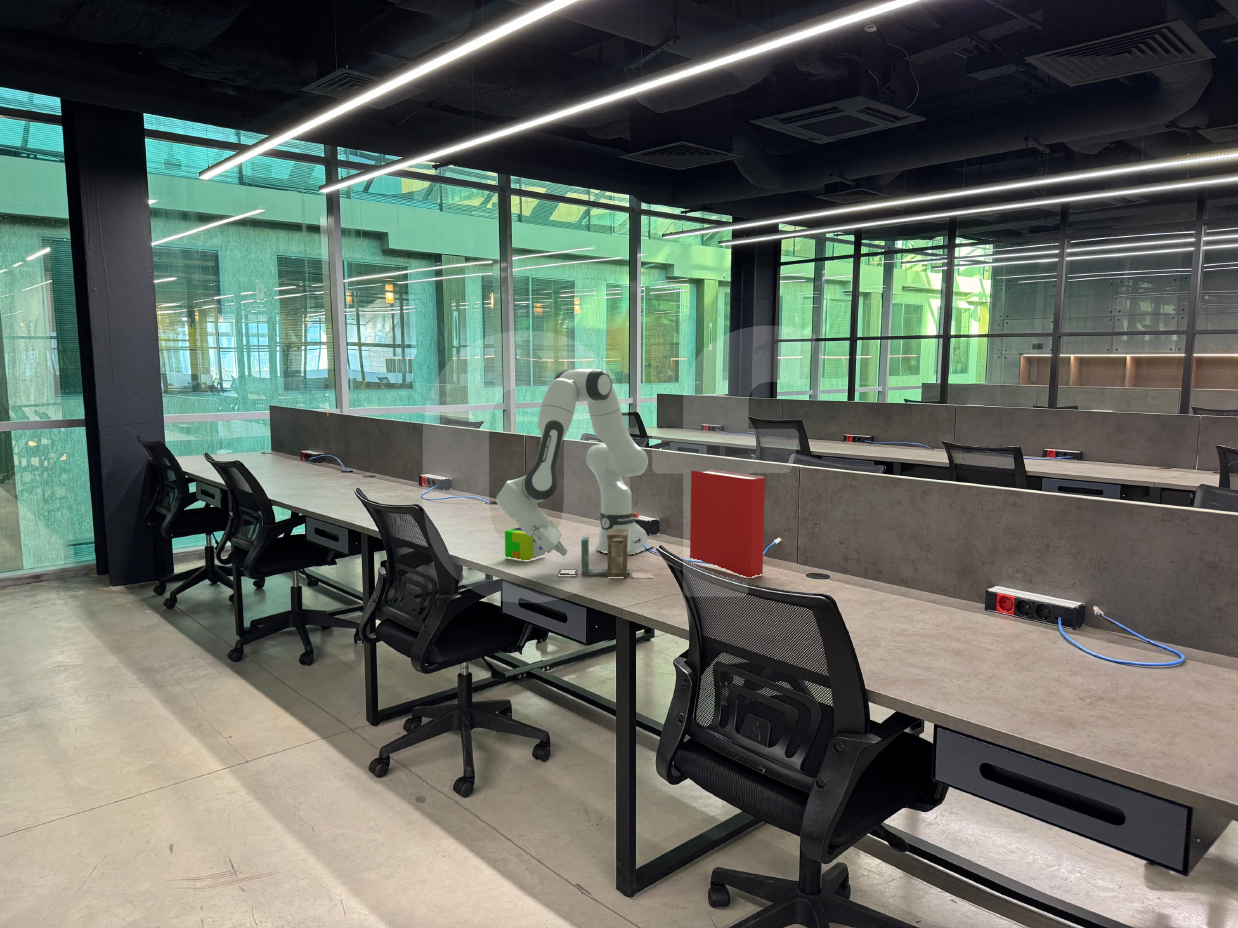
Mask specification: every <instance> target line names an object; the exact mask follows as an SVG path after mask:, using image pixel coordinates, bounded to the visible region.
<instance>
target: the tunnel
mask: <svg viewBox="0 0 1238 928" xmlns="http://www.w3.org/2000/svg"><path fill="white" fill-rule="evenodd" d="M607 538H608V554H607V569H608V575H607V578H608V577H624V578H627V577H628V575H627V569H628V554H627V538H628V529H608V533H607ZM613 539H623V575H612V540H613ZM627 579H628V578H627Z"/></svg>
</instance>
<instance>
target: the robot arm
mask: <svg viewBox="0 0 1238 928" xmlns="http://www.w3.org/2000/svg"><path fill="white" fill-rule="evenodd" d="M548 385H549V386H548V387H547V389H546V392H545V394H544V397H543V399H542V402H541V405H540V409H539V413H538V423H537V427H538V430H539V432H540V437H541V439H540V444H539V449H538V452H537V456H536V459H535V463H534V465H533V467H532V468H531V469H530V470H529V472H528V473H527V475H524V476H521V477H519V478H516V479H512V480H509V479H508V480H506V481H505V482H504V483H503V484H502V486H501V487H500V489H499V490H498V491H497V492H496V495H495V501H496V504H497V505H498V506H499V507H500V509H501V510H502V511H503V513H505V514H506V515H507V516H508V517H509V518H510V519H512V520H513V521H514V522H515V523H516V524H517V526H518V527H520V528H521V529H522V530H523V531H524V532H525V533H526V534H527V535H528V536H529V537H530V536H531V535H533V538H534V540H535V541H536V542H537V543H538V544H539V545H540V546H541V547H542V549H543V550H544V551H545V553H546V554H550V553H551V552H552V551H555V552H557V553H559V555H561V556H562V557H565V556H566V555H567V553H568V551H569V550H568V549H567V548H566V547H565V546H564V544H563V543H562V542H561V541H560V539H561V537H562V536H563V534H562V532H561V530H560V529H559V528H558V527H557V525H556V524H555V523H554V522H553V521H552V520H551V519H550V518H549V517H550V515H549V514H548V513H547V512H545V511H543V510H542V508H540V507H539V506H538V504H539V502H543V501H544V500H547V499H550V497H552V496H553V495H554V493H555V492H556V491H557V487H558V481H557V480H558V479H557V474H556V468H557V467H556V465H557V462H558V457H559V453H560V449H561V445H562V442H563V440H564V439H565V436H566V435H567V434H568V431H569V430H570V427H571V424H572V421H573V418H574V415H575V409H576V406H577V405H576V403H577V402H586V403H587V407H588V408H587V409H588V414H589V416H590V421H591V425H592V428H593V429H592V430H593V433H594V434H595V436H596V437H597V438H598V439H599V440H601V441H602V442H603V443H602V444H601V443H600V444H594V445H593V446H591V447H590V448H589V449H588V450H587V453H586V456H585V457H586V459H585V460H586V465H587V466H588V469H590V470H591V472H592V473H593V474H594V476H595V478H596V481H597V483H598V486H599V490H600V507H601V508H600V510H601V512H599V523H600V525H599V530H598V531H599V533H598V539H597V540H598V541H597V543H596V550H597V549H598V550H599V551H604V552H605V551H607V552H608V538H607V533H608V529H628V538H627V553H637V552H639V551H642V550H644V549H645V548H643V545H644V544H646V543H648V535H647V532H646V530H645V529H644V528H642V527H641V526H640V525H639V524H637V522H635V521H636V520H635V518H636V519H639V518H640V516H641V515H640V514H639V512H635V511H634V512H632V507H633V506H632V501H633V500H632V490H630V487H628V486H627V485H626V483H625V481H623V477H636V476H640V475H642V474H644V473H645V472H646V470H647V468H648V465H649V459H648V455H647V452H646V451H645V450H644V449H642V448H641V447H640V446H638V444H637V443H636V442H635V441H634V440H633V438H632V436H631V435H630V432H628V430H627V427H626V425H625V421H624V418H623V414H622V410H621V405H620V403H619V398H618V395H617V393H616V389H615V388H614V386H613V383H612V379H611V377H610V376H609V374H608V373H607V372H606V371H605V370H603V369H598V368H594V369H593V368H577V369H565V370H562V371H559V372H558V373H556V375H555V376H554V377H553V380H552V381H551V382H550V383H549V384H548ZM622 476H623V477H622ZM613 540H623V539H613ZM597 546H598V547H597Z"/></svg>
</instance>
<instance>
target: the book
mask: <svg viewBox="0 0 1238 928" xmlns="http://www.w3.org/2000/svg"><path fill="white" fill-rule="evenodd" d="M765 488H766V477H765V476H761V475H753V474H746V473H739V472H733V471H724V470H719V469H712V468H710V469H709V468H708V469H707V471H696V470H691V471H690V524H689V525H690V526H689V527H690V528H689V531H690V533H689V536H690V537H689V539H690V540H689V543H690V544H689V559H690V558H693V559H697V560H701V561H703V562H706V563H711V564H713V565H717V566H719V567H721V568H725V569H727V570H730V571H732V572H734V573H737V574H739V575H743V576H746V577H752V576H755V575H760V574H763V572H764V571H763V569H764V536H765V535H764V533H765V530H764V529H765V497H766V495H765V494H766V493H765V491H766V489H765Z"/></svg>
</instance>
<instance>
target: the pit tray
mask: <svg viewBox="0 0 1238 928" xmlns="http://www.w3.org/2000/svg"><path fill="white" fill-rule="evenodd" d="M561 570H576V571H575V574H569V573H560V572H561ZM577 572H578V573H579V569H573V568H572V569H571V568H569V569H568V568H567V569H566V568H559V570H558V571H557V575H558V574H560V575H577V576H578V574H577Z"/></svg>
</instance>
